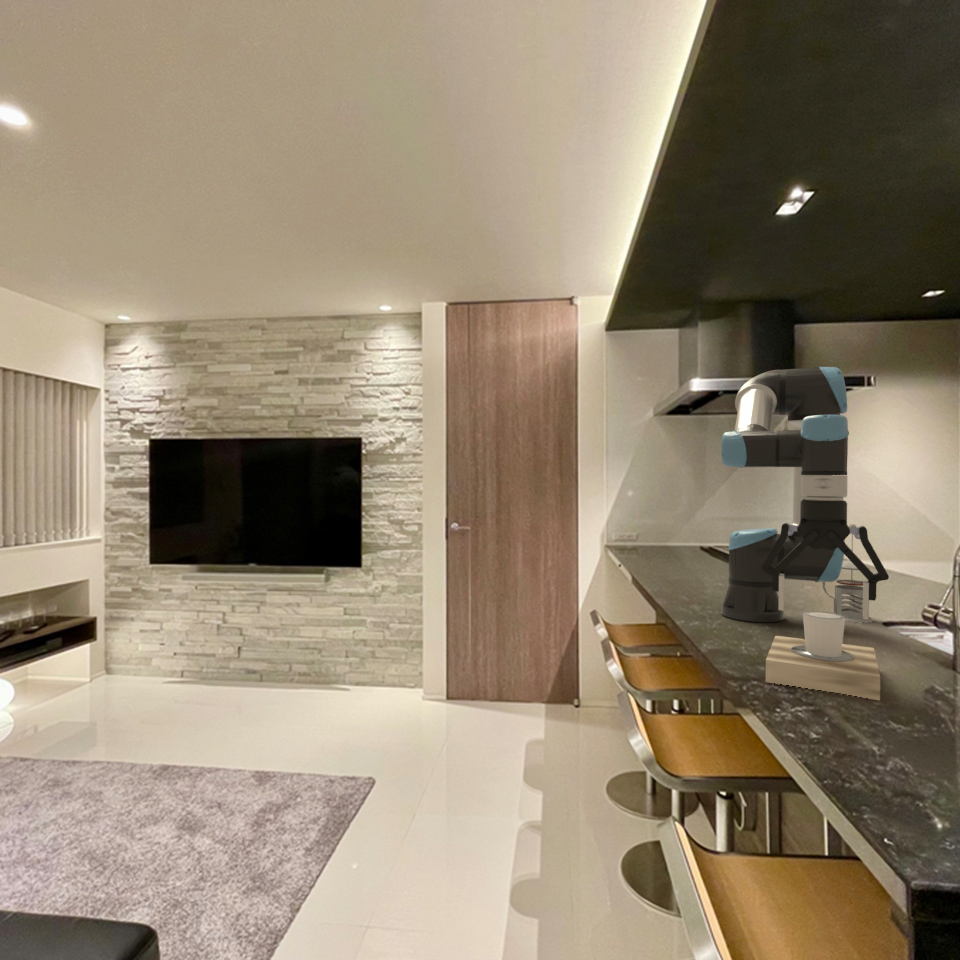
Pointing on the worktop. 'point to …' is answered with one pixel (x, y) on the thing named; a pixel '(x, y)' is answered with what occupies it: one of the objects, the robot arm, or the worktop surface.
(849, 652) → the birch stand
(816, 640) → the tapered cream cylinder
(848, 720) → the worktop surface
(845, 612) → the french press
